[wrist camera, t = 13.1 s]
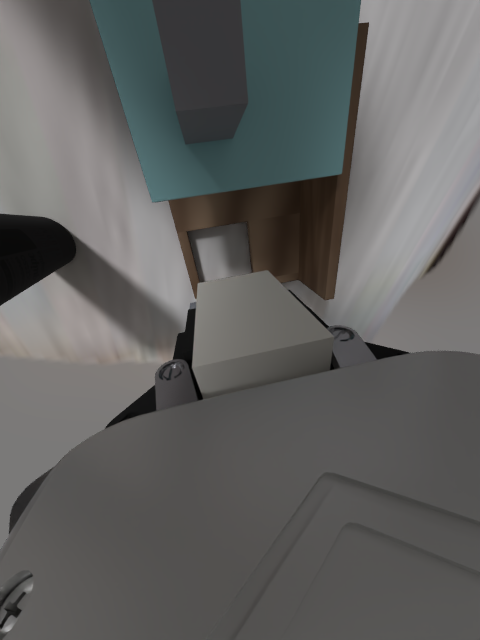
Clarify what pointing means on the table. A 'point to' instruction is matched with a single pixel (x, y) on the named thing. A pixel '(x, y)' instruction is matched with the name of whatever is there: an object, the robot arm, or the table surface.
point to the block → (254, 335)
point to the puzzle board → (284, 215)
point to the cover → (232, 89)
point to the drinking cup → (30, 252)
